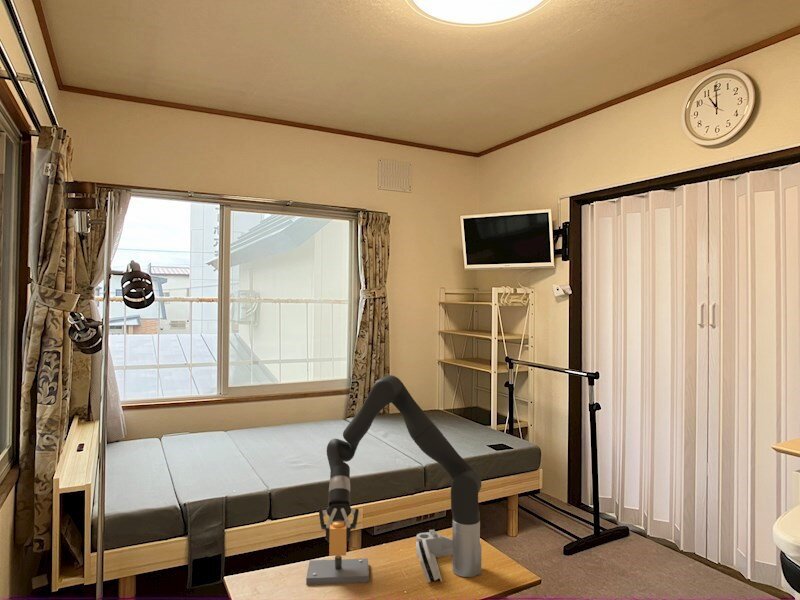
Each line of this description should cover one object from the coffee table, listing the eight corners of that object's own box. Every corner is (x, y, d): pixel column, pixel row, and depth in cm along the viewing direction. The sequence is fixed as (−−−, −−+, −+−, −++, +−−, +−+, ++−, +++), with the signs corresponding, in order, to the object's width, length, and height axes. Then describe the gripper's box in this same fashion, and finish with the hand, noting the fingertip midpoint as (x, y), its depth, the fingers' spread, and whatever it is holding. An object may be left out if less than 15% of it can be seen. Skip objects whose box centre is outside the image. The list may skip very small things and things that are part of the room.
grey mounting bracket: (466, 553, 193) (466, 531, 193) (419, 559, 188) (419, 537, 188) (460, 546, 199) (460, 525, 199) (414, 552, 194) (414, 530, 194)
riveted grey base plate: (367, 564, 184) (367, 543, 184) (368, 582, 172) (368, 560, 172) (309, 566, 183) (309, 545, 183) (306, 584, 171) (306, 562, 171)
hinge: (442, 582, 172) (432, 553, 172) (428, 587, 172) (418, 558, 172) (435, 558, 189) (426, 531, 189) (423, 563, 189) (413, 536, 189)
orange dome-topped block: (346, 547, 181) (346, 519, 181) (346, 555, 175) (346, 526, 175) (330, 548, 180) (330, 519, 180) (329, 555, 175) (329, 526, 175)
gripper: (318, 487, 185) (315, 537, 173) (360, 486, 186) (360, 536, 174) (319, 497, 190) (316, 546, 178) (359, 496, 191) (359, 545, 179)
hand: (338, 540), depth 176 cm, fingers closed on orange dome-topped block, 5 cm apart
